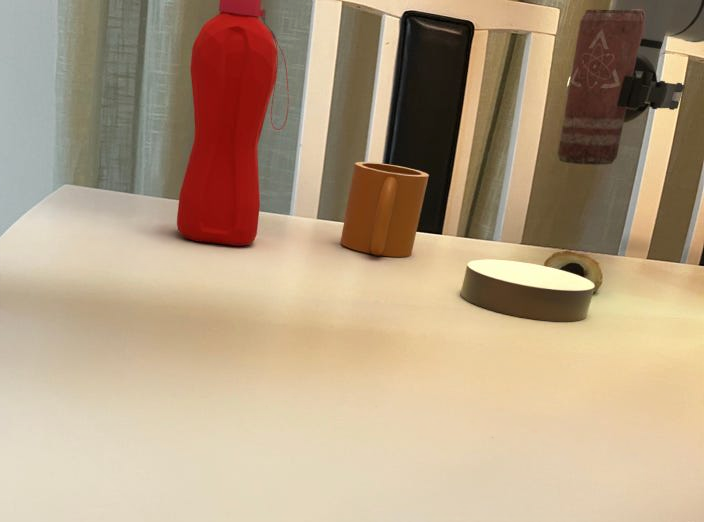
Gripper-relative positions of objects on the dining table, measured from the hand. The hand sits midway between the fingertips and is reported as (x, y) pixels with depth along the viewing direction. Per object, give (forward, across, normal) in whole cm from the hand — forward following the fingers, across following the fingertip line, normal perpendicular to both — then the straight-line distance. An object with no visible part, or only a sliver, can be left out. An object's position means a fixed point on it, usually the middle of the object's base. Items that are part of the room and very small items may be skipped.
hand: (630, 92), depth 102 cm
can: (-2, +2, -7) cm, 8 cm away
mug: (-4, +24, -20) cm, 31 cm away
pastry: (-3, +1, -20) cm, 20 cm away
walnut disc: (+11, +5, -20) cm, 24 cm away
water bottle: (+5, +40, -20) cm, 45 cm away
